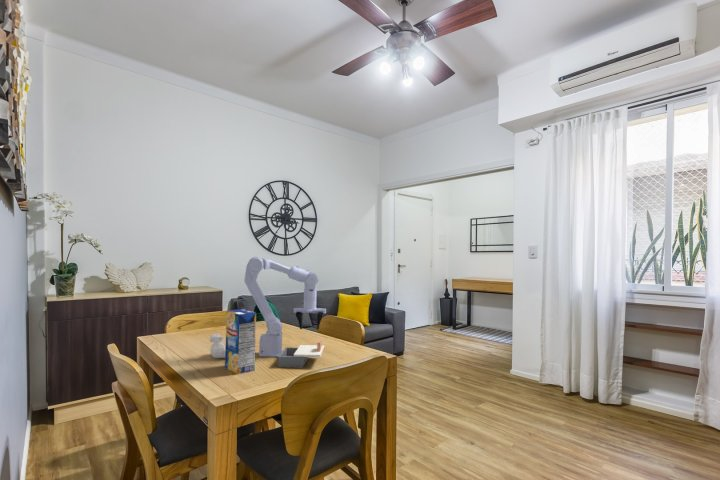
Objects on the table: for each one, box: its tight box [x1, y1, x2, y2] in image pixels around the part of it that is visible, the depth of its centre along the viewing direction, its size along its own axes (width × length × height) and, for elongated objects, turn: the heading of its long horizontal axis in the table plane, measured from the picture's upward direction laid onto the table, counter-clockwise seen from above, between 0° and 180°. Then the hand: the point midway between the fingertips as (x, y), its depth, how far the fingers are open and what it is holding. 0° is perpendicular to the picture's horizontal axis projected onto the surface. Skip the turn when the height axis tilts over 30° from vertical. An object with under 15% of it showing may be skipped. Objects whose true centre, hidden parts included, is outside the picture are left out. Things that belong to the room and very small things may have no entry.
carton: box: [277, 346, 309, 369], centre depth 149 cm, size 10×14×4 cm
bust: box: [209, 333, 226, 359], centre depth 153 cm, size 12×8×11 cm
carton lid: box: [294, 339, 325, 358], centre depth 149 cm, size 10×14×4 cm
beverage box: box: [224, 308, 257, 375], centre depth 139 cm, size 7×11×22 cm, turn 44°
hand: (309, 328), depth 164 cm, fingers open, 7 cm apart
